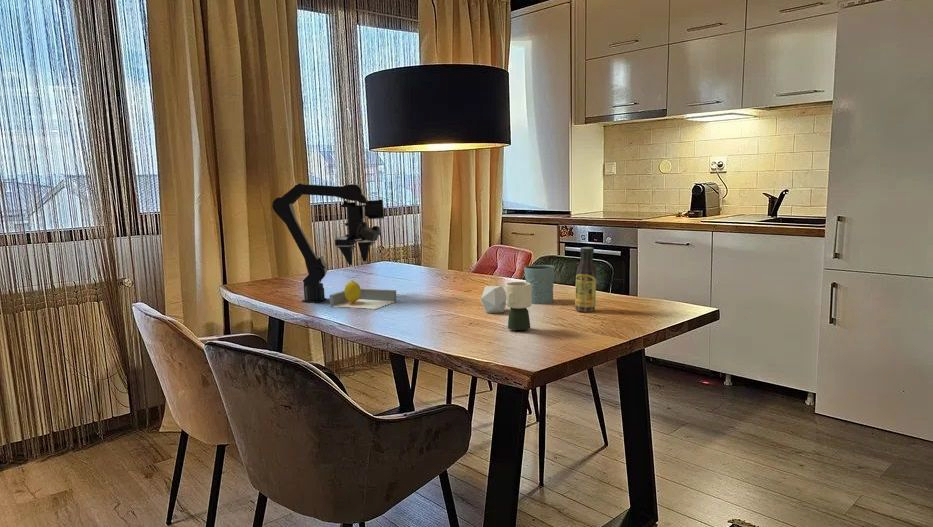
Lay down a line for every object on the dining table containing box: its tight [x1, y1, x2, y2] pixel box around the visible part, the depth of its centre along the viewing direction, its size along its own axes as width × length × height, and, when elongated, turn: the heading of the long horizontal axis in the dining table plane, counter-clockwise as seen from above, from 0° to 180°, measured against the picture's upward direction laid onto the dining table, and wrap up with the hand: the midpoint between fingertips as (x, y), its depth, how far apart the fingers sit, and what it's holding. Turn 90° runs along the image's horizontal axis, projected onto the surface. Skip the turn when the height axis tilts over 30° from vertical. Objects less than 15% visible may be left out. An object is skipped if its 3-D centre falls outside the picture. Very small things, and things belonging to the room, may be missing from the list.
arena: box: [329, 287, 398, 310], centre depth 214 cm, size 18×14×4 cm
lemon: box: [343, 280, 361, 303], centre depth 213 cm, size 6×6×8 cm
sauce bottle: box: [574, 246, 597, 313], centre depth 192 cm, size 6×6×20 cm
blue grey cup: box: [523, 264, 555, 305], centre depth 209 cm, size 10×10×12 cm
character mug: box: [504, 281, 533, 332], centre depth 171 cm, size 11×7×13 cm, turn 147°
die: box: [480, 285, 507, 314], centre depth 195 cm, size 8×9×10 cm
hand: (357, 263), depth 223 cm, fingers open, 9 cm apart
